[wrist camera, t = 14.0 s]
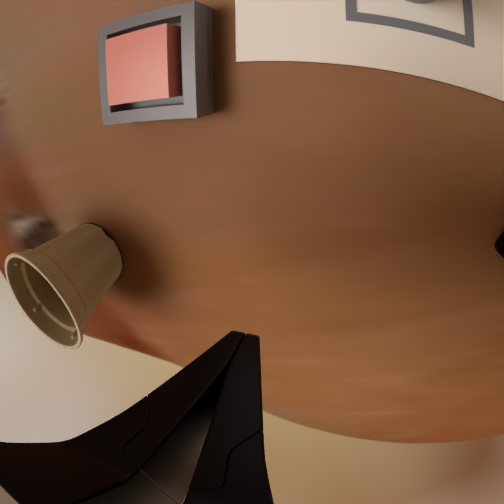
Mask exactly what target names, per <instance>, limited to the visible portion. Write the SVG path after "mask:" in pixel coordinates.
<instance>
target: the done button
mask: <svg viewBox="0 0 504 504" xmlns="http://www.w3.org/2000/svg"><path fill="white" fill-rule="evenodd" d="M106 73H107V90H108V103H109V106H112V105H118V104H124V103H130V102H137V101H145V100H153V99H162V98H170V97H177V96H183V85H182V53H181V26H177V25H172V24H168V23H165V24H161V25H156V26H152V27H148V28H144V29H140V30H137V31H133V32H130V33H126V34H123V35H119V36H116V37H113V38H110V39H107V40H106Z"/></svg>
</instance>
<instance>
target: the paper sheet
mask: <svg viewBox="0 0 504 504" xmlns="http://www.w3.org/2000/svg"><path fill="white" fill-rule="evenodd" d="M235 12H236V62H248V61H297V62H318V63H331V64H342V65H352V66H360V67H368V68H375V69H381V70H388V71H393V72H399V73H404V74H409V75H414V76H419V77H423V78H428V79H432V80H436V81H440V82H444V83H448V84H451V85H455V86H458V87H462V88H465V89H468V90H472V91H475V92H478V93H481V94H484V95H487V96H490V97H493V98H495V99H498V100H501V101H503V102H504V0H435V1H433V2H430V3H423V4H420V3H413V2H409V1H406V0H235Z"/></svg>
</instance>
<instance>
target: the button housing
mask: <svg viewBox="0 0 504 504" xmlns="http://www.w3.org/2000/svg"><path fill="white" fill-rule="evenodd" d="M165 23H168V24H172V25H177V26H181V53H182V85H183V96H177V97H170V98H162V99H153V100H145V101H137V102H130V103H124V104H118V105H112V106H109V103H108V90H107V73H106V40H107V39H110V38H113V37H116V36H119V35H123V34H126V33H130V32H133V31H137V30H140V29H144V28H148V27H152V26H156V25H161V24H165ZM98 64H99V83H100V97H101V109H102V119H103V126H105V125H113V124H121V123H130V122H140V121H151V120H165V119H181V118H198V117H202V116H205V115H209V114H213V113H215V105H214V68H213V9H212V8H210V7H208V6H205V5H203V4H201V3H199V2H197V1H189V2H184V3H180V4H175V5H171V6H166V7H162V8H158V9H154V10H151V11H147V12H143V13H140V14H137V15H133V16H130V17H127V18H124V19H121V20H118V21H115V22H112V23H109V24H106V25H104V26H101V27H98Z"/></svg>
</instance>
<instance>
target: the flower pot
mask: <svg viewBox="0 0 504 504" xmlns="http://www.w3.org/2000/svg"><path fill="white" fill-rule="evenodd" d="M121 270H122V260H121V255H120V252H119V250H118V248H117V246H116V244H115V242H114V241H113V240H112V239H110V238H109V237H108V236H107V235H106V234H105V233H104V232H103V229H102V228H100V227H98V226H96V225H93V224H82V225H80V226H78V227H76V228H74V229H73V230H71V231H69V232H66V233H64V234H62V235H60V236H58V237H56V238H54V239H52V240H50V241H48V242H46V243H44V244H42V245H40V246H38V247H37V248H35V249H28V250H25V251H23V252H21V253H18V252H14V253H11V254H10V255H8V257H7V258H6V261H5V273H6V278H7V281H8V284H9V287H10V289H11V291H12V293H13V295H14V297H15V299H16V301H17V303H18V304H19V306H20V307H21V309H22V310H23V312H24V313H25V315H26V316H27V317H28V318H29V320H30V321H31V322H32V323H33V324H34V326H35V327H37V329H38V330H39V331H41V332H42V333H43V334H44V335H45V336H46V337H47V338H49V339H50V340H51V341H53V342H54V343H56V344H58V345H60V346H62V347H65V348H68V349H76V348H78V347H79V346H80V345H81V343H82V339H83V333H84V331H85V330H86V328H87V324H88V320H89V318H90V317H91V315H92V314H93V312H94V311H95V309H96V308H97V306H98V305H99V303H100V302H101V300H102V299H103V297H104V296H105V294H106V293H107V292H108V290H109V289H110V287H111V286H112V285H113V283H114V282H115V281H116V279H117V278H118V277H119V275H120V273H121Z"/></svg>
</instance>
